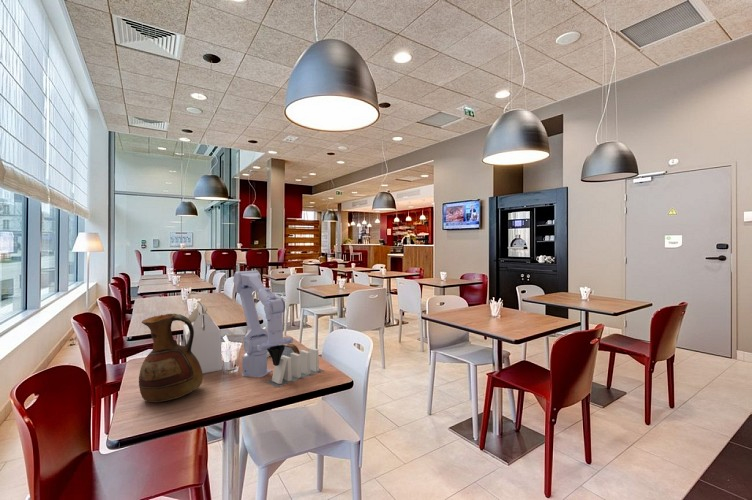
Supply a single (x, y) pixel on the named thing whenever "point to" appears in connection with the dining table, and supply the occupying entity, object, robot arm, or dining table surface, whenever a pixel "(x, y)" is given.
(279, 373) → the domino
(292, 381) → the mat
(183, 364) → the ceramic pitcher
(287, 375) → the domino
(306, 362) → the domino
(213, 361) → the gable box
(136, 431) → the dining table surface
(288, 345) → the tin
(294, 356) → the domino
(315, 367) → the domino
